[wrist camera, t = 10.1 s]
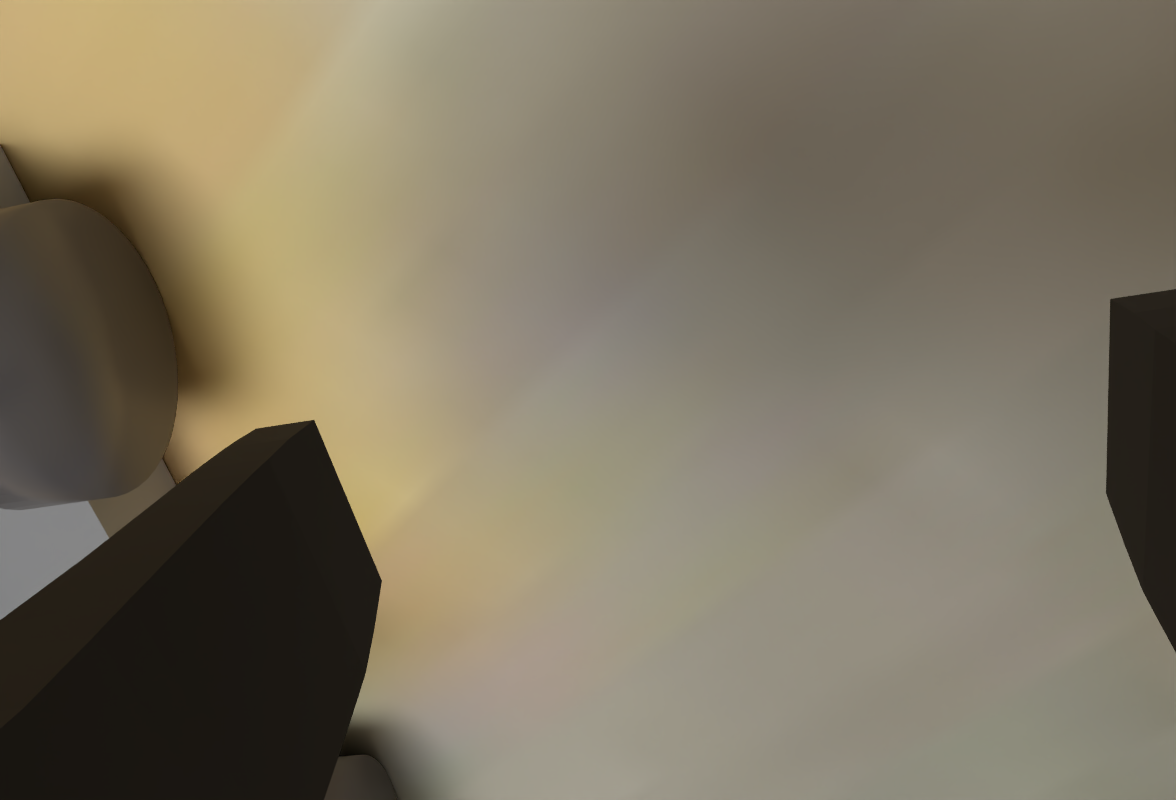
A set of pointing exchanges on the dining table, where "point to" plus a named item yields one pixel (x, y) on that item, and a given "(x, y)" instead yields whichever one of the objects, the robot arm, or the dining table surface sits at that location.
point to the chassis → (87, 403)
